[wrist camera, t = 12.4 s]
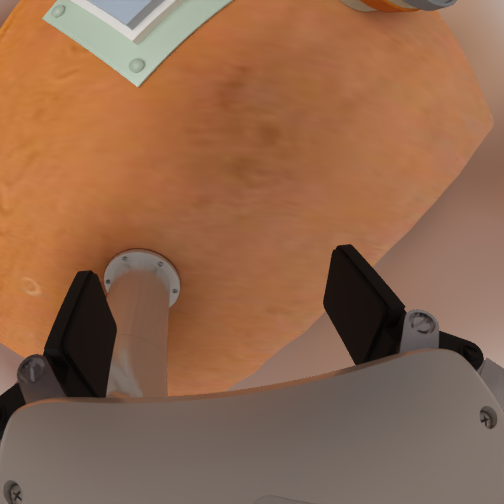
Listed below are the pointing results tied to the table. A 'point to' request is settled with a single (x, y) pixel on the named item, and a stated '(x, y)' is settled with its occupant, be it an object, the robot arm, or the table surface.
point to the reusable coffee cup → (397, 5)
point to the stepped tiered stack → (132, 29)
